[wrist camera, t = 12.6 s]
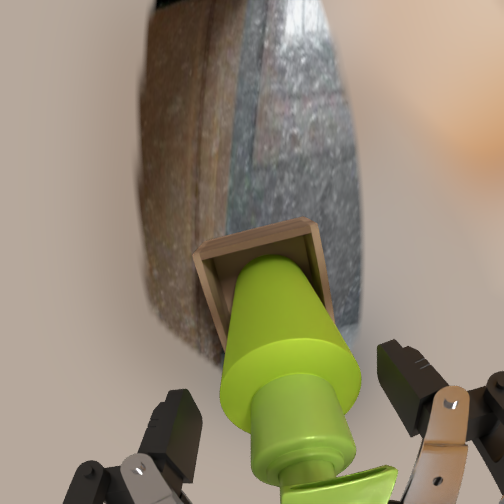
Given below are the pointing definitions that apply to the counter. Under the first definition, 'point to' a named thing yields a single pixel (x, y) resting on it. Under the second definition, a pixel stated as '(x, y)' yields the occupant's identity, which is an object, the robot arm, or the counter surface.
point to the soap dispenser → (294, 389)
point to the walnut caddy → (250, 247)
